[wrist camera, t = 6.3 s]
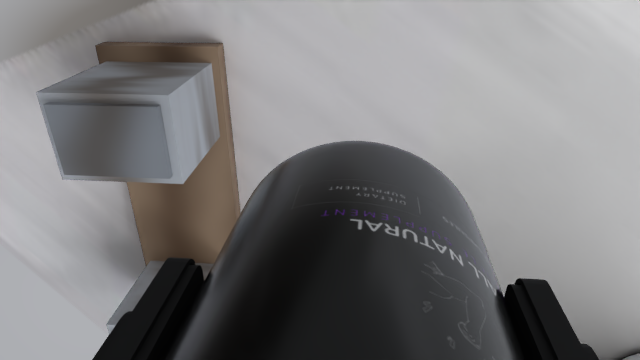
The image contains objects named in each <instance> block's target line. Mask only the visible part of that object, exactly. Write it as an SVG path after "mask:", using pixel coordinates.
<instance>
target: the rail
mask: <svg viewBox="0 0 640 360" xmlns="http://www.w3.org/2000/svg"><path fill="white" fill-rule="evenodd" d="M95 47H96V51H97V55H98V60H99V65H97V66H95V67H93V68H90V69H88V70H86V71H83V72H81V73H79V74H77V75H74V76H72V77H70V78H68V79H65V80H63V81H61V82H59V83H56V84H54V85H52V86H49V87H47V88H45V89H43V90H40V91H38V92H36V94H37V97H38V100H39V104H40V107H41V110H42V114H43V117H44V120H45V124H46V127H47V130H48V133H49V137H50V140H51V143H52V147H53V150H54V153H55V157H56V160H57V163H58V166H59V170H60V173H61V176H62V179H66V180H92V181H118V182H127V186H128V190H129V194H130V199H131V203H132V207H133V212H134V216H135V220H136V225H137V229H138V233H139V238H140V242H141V246H142V251H143V255H144V259H145V264H146V268H145V269H144V271H143V272H142V274H141V275H140V277H139V278H138V279H137V281H136V282H135V284H134V285H133V287H132V288H131V290H130V291H129V292H128V294H127V295H126V297H125V298H124V300H123V301H122V303H121V304H120V305H119V307H118V308H117V310H116V311H115V313H114V314H113V316H112V317H111V318H110V320H109V321H108V323H107V324H106V325H107V328H108V331H109V334H110V333H111V331H112V330H113V328H114V327H115V326H116V324H117V323H118V321H119V320H120V318H121V317H122V316H123V315H124V314H125V313H127V312H128V311H133V309H134V308H135V306H136V305H137V303H138V302H139V300H140V299H141V297H142V296H143V294H144V292H145V291H146V289H147V288H148V286H149V285H150V283H151V282H152V280H153V279H154V277H155V276H156V274H157V273H158V271H159V270H160V268H161V267H162V265H163V264H164V262H165V261H166V260H167V258H170V257H173V258H190V259H193V260H194V261H195V264H196V265H200V266H201V267H202V270H203V276H204V281H205V279H206V277H207V275H208V273H209V271H210V270H211V268H212V266H213V264H214V262H215V260H216V258H217V256H218V255H219V253H220V251H221V249H222V247H223V245H224V243H225V241H226V240H227V238H228V236H229V234H230V232H231V230H232V228H233V226H234V224H235V223H236V221H237V219H238V217H239V215H240V204H239V194H238V185H237V175H236V165H235V156H234V146H233V136H232V127H231V117H230V107H229V97H228V88H227V78H226V68H225V59H224V49H223V43H148V42H104V43H101V44H98V45H95Z"/></svg>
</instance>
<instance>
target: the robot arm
mask: <svg viewBox="0 0 640 360" xmlns="http://www.w3.org/2000/svg"><path fill="white" fill-rule="evenodd" d="M203 283H204V276H203V270H202V267H201V266H200V265H196V264H195V261H194V260H193V259H190V258H173V257H170V258H167V260H166V261H165V262H164V264H163V265H162V267H161V268H160V270H159V271H158V273H157V274H156V276H155V277H154V279H153V280H152V282H151V283H150V285H149V286H148V288H147V289H146V291H145V292H144V294H143V296H142V297H141V299H140V300H139V302H138V303H137V305H136V306H135V308H134V309H133V311H128V312H127V313H125V314H124V315H123V316H122V317H121V318H120V320H119V321H118V323H117V324H116V326H115V327H114V328H113V330H112V331H111V333H110V334H109V336H108V337H107V339H106V340H105V342H104V343H103V345H102V346H101V348H100V349H99V351H98V352H97V354H96V355H95V357H94V358H93V359H92V360H163V358H164V356H165V354H166V352H167V350H168V348H169V347H170V345H171V343H172V341H173V339H174V337H175V335H176V333H177V332H178V330H179V328H180V326H181V324H182V322H183V320H184V318H185V316H186V315H187V313H188V311H189V309H190V307H191V305H192V303H193V301H194V300H195V298H196V296H197V294H198V292H199V290H200V288H201V286H202V285H203ZM504 300H505V302H506V305H507V308H508V311H509V313H510V316H511V319H512V322H513V324H514V327H515V330H516V333H517V336H518V338H519V341H520V344H521V347H522V349H523V352H524V355H525V358H526V360H599V359H598V357H597V355H596V354H595V352H594V351H593V349H592V348H591V347H590V346H588V345H587V344H580V342H579V340H578V338H577V336H576V334H575V332H574V331H573V329H572V327H571V325H570V323H569V321H568V319H567V317H566V315H565V314H564V312H563V310H562V308H561V306H560V304H559V302H558V300H557V299H556V297H555V295H554V293H553V291H552V289H551V287H550V285H549V284H548V282H547V281H545V280H538V279H521V278H519V279H517V280H516V282H515V285H512V284H509V285H508V286H507V288H506V292H505V297H504ZM622 360H640V353H638V354H635V355H632V356H629V357H627V358H624V359H622Z"/></svg>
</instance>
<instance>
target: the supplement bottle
mask: <svg viewBox="0 0 640 360" xmlns="http://www.w3.org/2000/svg"><path fill="white" fill-rule="evenodd" d="M163 360H526V358H525V355H524V352H523V349H522V347H521V344H520V341H519V338H518V336H517V333H516V330H515V327H514V324H513V322H512V319H511V316H510V313H509V311H508V308H507V305H506V302H505V300H504V297H503V294H502V291H501V289H500V286H499V283H498V280H497V278H496V275H495V272H494V269H493V266H492V264H491V261H490V258H489V255H488V253H487V250H486V247H485V244H484V242H483V239H482V236H481V234H480V231H479V229H478V227H477V224H476V222H475V219H474V216H473V214H472V212H471V210H470V208H469V206H468V204H467V202H466V200H465V199H464V197H463V196H462V194H461V193H460V191H459V190H458V189H457V187H456V186H455V185H454V184H453V183H452V182H451V180H449V179H448V178H447V177H446V176H445V175H444V174H443V173H442V172H441V171H439V170H438V169H437V168H435V167H434V166H433V165H431V164H430V163H428V162H427V161H425V160H423V159H422V158H420V157H418V156H416V155H414V154H412V153H410V152H408V151H405V150H402V149H399V148H397V147H393V146H389V145H386V144H381V143H375V142H366V141H343V142H334V143H329V144H324V145H320V146H317V147H313V148H310V149H308V150H305V151H303V152H300V153H298V154H296V155H294V156H292V157H291V158H289V159H287V160H285V161H284V162H282V163H281V164H279V165H278V166H277V167H276V168H274V169H273V170H272V171H271V172H270V173H269V174H268V175H267V176H266V177H265V178H264V179H263V180H262V181H261V182H260V184H259V185H258V186H257V188H256V189H255V190H254V192H253V193H252V195H251V196H250V198H249V200H248V201H247V203H246V205H245V207H244V208H243V210H242V212H241V214H240V215H239V217H238V219H237V221H236V223H235V224H234V226H233V228H232V230H231V232H230V234H229V236H228V238H227V240H226V241H225V243H224V245H223V247H222V249H221V251H220V253H219V255H218V256H217V258H216V260H215V262H214V264H213V266H212V268H211V270H210V271H209V273H208V275H207V277H206V279H205V281H204V283H203V285H202V286H201V288H200V290H199V292H198V294H197V296H196V298H195V300H194V301H193V303H192V305H191V307H190V309H189V311H188V313H187V315H186V316H185V318H184V320H183V322H182V324H181V326H180V328H179V330H178V332H177V333H176V335H175V337H174V339H173V341H172V343H171V345H170V347H169V348H168V350H167V352H166V354H165V356H164V358H163Z"/></svg>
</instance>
